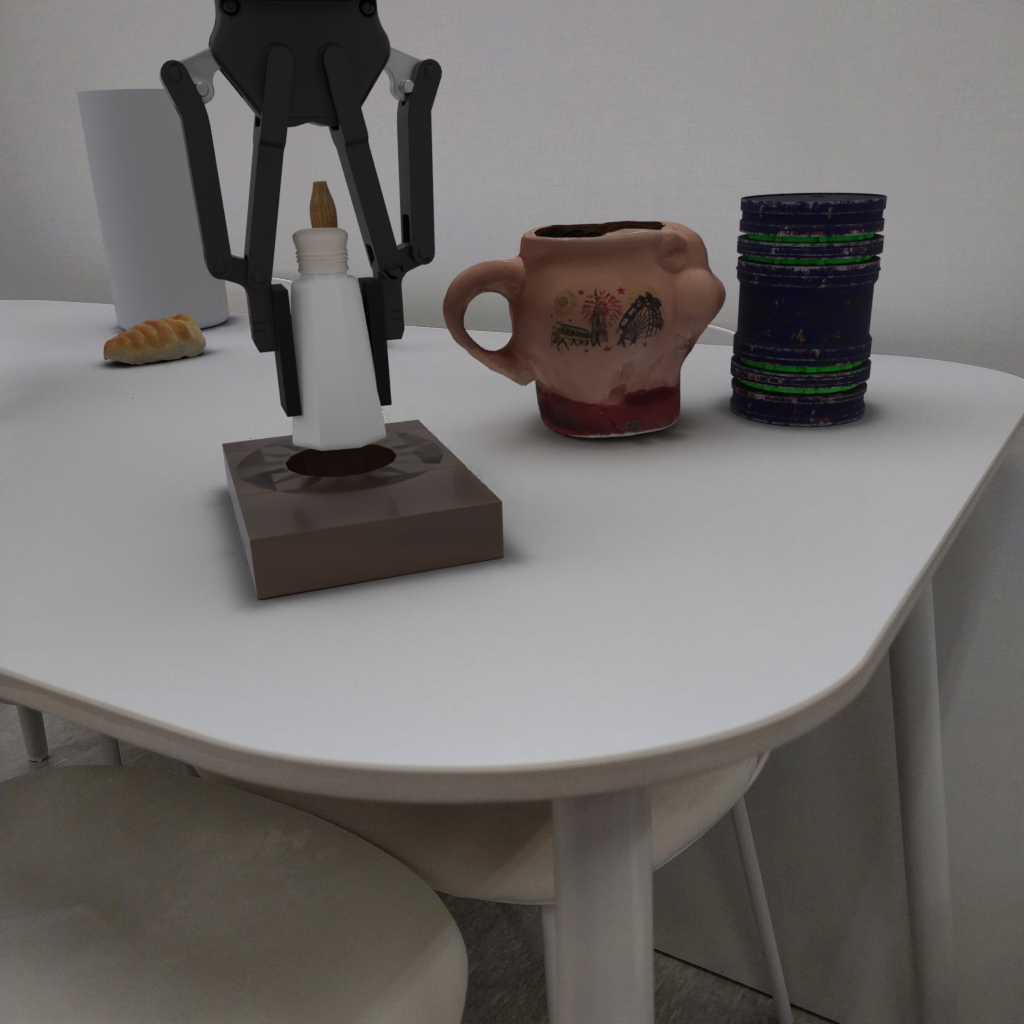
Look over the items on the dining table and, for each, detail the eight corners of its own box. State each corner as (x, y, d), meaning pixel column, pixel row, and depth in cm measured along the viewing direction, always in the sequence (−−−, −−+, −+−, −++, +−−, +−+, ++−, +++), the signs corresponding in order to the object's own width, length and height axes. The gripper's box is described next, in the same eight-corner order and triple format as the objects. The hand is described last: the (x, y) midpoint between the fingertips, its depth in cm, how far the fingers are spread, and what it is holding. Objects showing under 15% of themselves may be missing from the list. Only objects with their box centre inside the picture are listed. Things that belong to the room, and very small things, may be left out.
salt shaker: (312, 458, 50) (288, 237, 46) (275, 434, 54) (250, 230, 50) (406, 438, 53) (391, 228, 49) (363, 417, 57) (346, 222, 53)
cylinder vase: (239, 313, 120) (210, 92, 111) (217, 331, 108) (183, 87, 99) (136, 317, 119) (99, 96, 110) (103, 336, 107) (58, 91, 98)
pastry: (127, 371, 90) (120, 330, 89) (90, 363, 94) (83, 324, 93) (213, 352, 97) (207, 314, 96) (175, 346, 101) (169, 309, 100)
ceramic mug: (488, 474, 60) (479, 242, 55) (426, 425, 70) (413, 226, 65) (757, 429, 67) (770, 220, 62) (664, 391, 77) (669, 210, 72)
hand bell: (318, 360, 92) (300, 184, 87) (283, 347, 99) (264, 182, 93) (394, 347, 97) (382, 179, 91) (355, 336, 103) (342, 178, 97)
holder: (228, 490, 58) (221, 443, 57) (421, 464, 62) (418, 419, 61) (257, 600, 44) (249, 540, 43) (504, 557, 48) (502, 500, 47)
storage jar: (857, 432, 66) (881, 202, 60) (714, 419, 70) (724, 202, 64) (873, 397, 74) (895, 191, 69) (744, 387, 78) (755, 192, 73)
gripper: (81, -122, 38) (172, 443, 47) (492, -102, 44) (507, 403, 52) (89, -83, 45) (168, 406, 53) (445, -69, 50) (465, 374, 59)
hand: (335, 404), depth 53 cm, fingers closed on salt shaker, 4 cm apart
